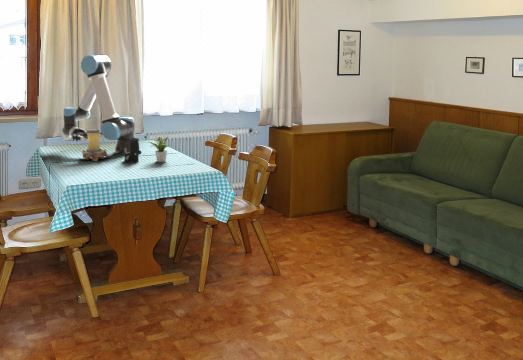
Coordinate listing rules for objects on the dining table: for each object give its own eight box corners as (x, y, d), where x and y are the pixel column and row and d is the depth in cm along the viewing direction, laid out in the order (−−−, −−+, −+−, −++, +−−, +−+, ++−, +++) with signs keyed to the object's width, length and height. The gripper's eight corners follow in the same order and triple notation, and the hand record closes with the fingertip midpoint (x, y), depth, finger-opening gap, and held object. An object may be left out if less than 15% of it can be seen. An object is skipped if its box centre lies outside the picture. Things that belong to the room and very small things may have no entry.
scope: (123, 138, 388) (139, 137, 391) (124, 160, 391) (140, 159, 394) (124, 140, 380) (141, 139, 383) (125, 163, 383) (142, 162, 386)
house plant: (162, 157, 400) (161, 131, 397) (178, 160, 392) (177, 133, 389) (145, 161, 389) (144, 134, 385) (162, 163, 381) (161, 136, 378)
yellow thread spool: (101, 150, 400) (100, 129, 397) (102, 152, 391) (101, 131, 389) (86, 150, 397) (85, 129, 395) (86, 153, 389) (85, 131, 386)
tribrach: (105, 156, 404) (105, 149, 403) (107, 160, 391) (106, 152, 390) (82, 157, 400) (82, 150, 399) (83, 161, 387) (83, 154, 386)
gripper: (95, 137, 416) (111, 142, 400) (59, 141, 400) (75, 146, 384) (94, 126, 414) (111, 130, 398) (58, 129, 398) (74, 133, 383)
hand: (93, 138), depth 391 cm, fingers open, 12 cm apart
